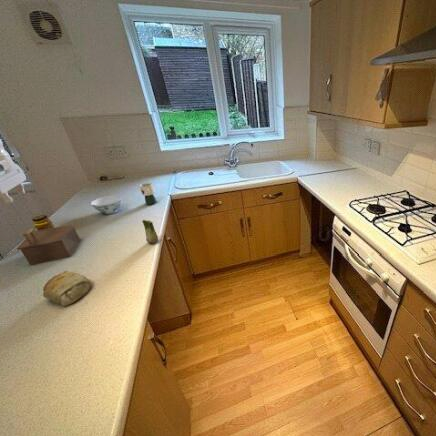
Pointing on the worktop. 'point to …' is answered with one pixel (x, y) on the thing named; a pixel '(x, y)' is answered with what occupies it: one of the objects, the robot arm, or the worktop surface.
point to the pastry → (66, 288)
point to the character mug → (148, 193)
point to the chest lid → (44, 236)
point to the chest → (52, 249)
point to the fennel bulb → (150, 232)
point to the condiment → (42, 222)
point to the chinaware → (107, 204)
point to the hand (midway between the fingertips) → (16, 198)
